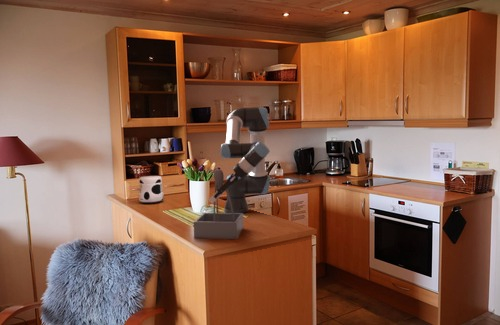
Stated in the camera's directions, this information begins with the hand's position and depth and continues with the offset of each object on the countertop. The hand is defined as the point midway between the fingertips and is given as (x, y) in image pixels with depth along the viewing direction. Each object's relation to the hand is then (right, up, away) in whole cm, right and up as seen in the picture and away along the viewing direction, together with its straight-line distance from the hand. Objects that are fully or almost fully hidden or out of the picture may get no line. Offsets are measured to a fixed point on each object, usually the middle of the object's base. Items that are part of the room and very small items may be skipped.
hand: (212, 200), depth 210 cm
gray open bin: (+3, -17, +1) cm, 17 cm away
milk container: (-51, -10, +87) cm, 101 cm away
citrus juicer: (+4, -15, 0) cm, 15 cm away
